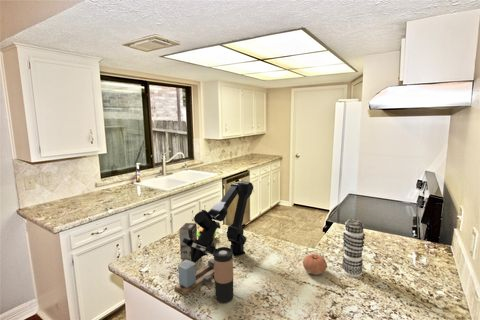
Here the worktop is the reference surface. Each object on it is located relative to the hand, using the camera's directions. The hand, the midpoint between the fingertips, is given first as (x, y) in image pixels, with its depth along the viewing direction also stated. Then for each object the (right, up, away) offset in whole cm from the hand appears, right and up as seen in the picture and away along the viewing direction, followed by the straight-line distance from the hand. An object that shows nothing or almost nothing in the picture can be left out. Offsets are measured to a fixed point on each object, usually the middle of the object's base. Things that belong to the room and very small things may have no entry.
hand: (191, 265), depth 115 cm
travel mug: (+15, -10, -8) cm, 20 cm away
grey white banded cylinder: (+74, -6, +8) cm, 74 cm away
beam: (+4, -8, +5) cm, 10 cm away
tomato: (+56, -7, +9) cm, 57 cm away
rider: (-1, -9, -1) cm, 9 cm away
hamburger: (+1, -2, +45) cm, 45 cm away
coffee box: (-6, -5, +27) cm, 28 cm away
